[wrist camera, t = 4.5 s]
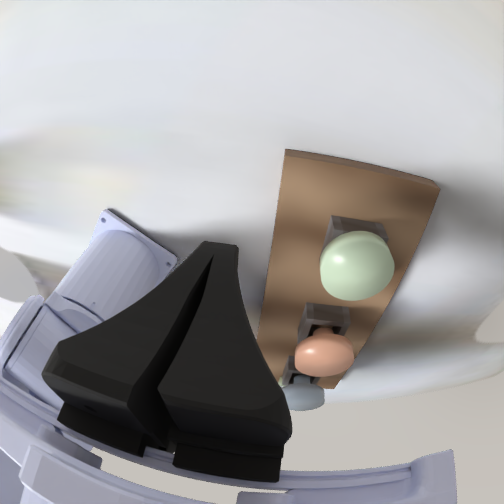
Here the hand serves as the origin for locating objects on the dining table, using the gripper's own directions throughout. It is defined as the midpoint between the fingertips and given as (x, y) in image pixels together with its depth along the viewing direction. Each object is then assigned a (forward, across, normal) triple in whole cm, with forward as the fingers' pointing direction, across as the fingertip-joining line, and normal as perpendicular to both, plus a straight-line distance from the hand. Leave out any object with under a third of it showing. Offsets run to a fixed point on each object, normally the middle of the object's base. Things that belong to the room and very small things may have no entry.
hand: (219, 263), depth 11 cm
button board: (+10, -8, +12) cm, 17 cm away
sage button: (+8, -8, +4) cm, 12 cm away
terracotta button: (+7, -8, +12) cm, 16 cm away
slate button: (+7, -8, +21) cm, 23 cm away
